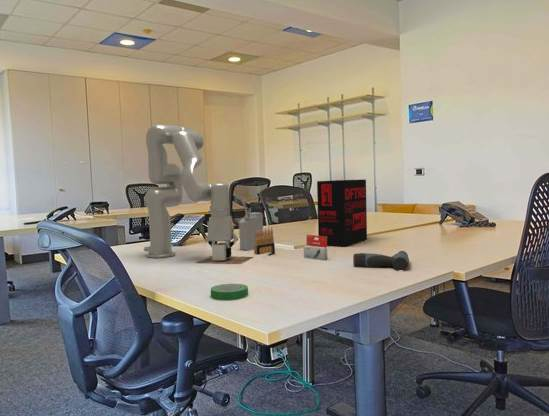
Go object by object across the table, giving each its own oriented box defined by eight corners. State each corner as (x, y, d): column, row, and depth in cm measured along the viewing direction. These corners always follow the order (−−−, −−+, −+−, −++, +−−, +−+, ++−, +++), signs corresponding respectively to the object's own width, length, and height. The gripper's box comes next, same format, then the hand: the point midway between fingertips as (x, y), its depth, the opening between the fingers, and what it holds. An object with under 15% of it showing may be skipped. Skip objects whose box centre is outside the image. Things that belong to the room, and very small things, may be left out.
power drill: (358, 260, 185) (410, 262, 179) (351, 269, 168) (408, 272, 161) (358, 247, 185) (409, 248, 178) (351, 255, 167) (408, 257, 161)
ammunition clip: (257, 257, 198) (256, 230, 197) (254, 256, 200) (253, 229, 199) (275, 254, 205) (274, 227, 204) (272, 253, 207) (271, 227, 206)
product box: (342, 238, 248) (341, 180, 246) (367, 240, 240) (365, 179, 238) (318, 245, 226) (317, 181, 224) (344, 247, 218) (343, 180, 216)
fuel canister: (244, 251, 215) (242, 198, 213) (236, 250, 218) (234, 198, 216) (264, 246, 227) (262, 197, 225) (256, 246, 230) (254, 197, 228)
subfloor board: (194, 265, 183) (194, 262, 183) (211, 258, 198) (211, 255, 198) (240, 267, 177) (240, 263, 177) (254, 259, 192) (254, 256, 192)
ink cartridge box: (324, 260, 186) (323, 236, 185) (303, 258, 193) (302, 235, 193) (328, 259, 188) (327, 236, 187) (307, 257, 195) (306, 234, 195)
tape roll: (219, 290, 142) (219, 282, 142) (253, 292, 139) (252, 283, 139) (204, 300, 132) (204, 291, 131) (240, 302, 128) (240, 292, 128)
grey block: (212, 260, 185) (211, 244, 184) (220, 256, 192) (220, 242, 192) (223, 260, 183) (223, 245, 183) (231, 256, 191) (230, 242, 190)
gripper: (197, 214, 185) (199, 258, 187) (236, 213, 180) (238, 259, 182) (205, 212, 193) (207, 255, 194) (243, 212, 188) (244, 256, 189)
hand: (222, 256), depth 188 cm, fingers closed on grey block, 5 cm apart
